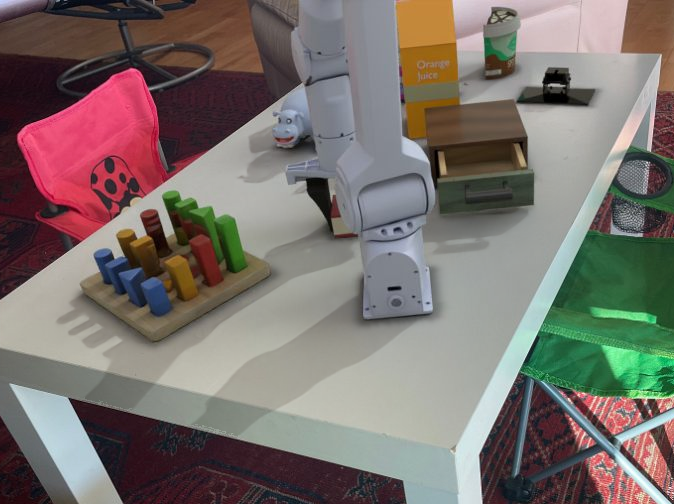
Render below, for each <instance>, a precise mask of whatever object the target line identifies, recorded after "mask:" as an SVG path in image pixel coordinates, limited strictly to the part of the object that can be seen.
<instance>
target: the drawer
mask: <svg viewBox="0 0 674 504" xmlns="http://www.w3.org/2000/svg"><path fill="white" fill-rule="evenodd" d="M437 156H438V169H439V176H440V178H439V179H437V185H438V188H437V194H438V208H439V215H448V214H449V215H450V214H460V213H468V212H479V211H489V210H497V209H498V210H499V209H508V208H509V209H510V208H518V207H529V206H534V205H535V171H534V168H529V169H528V170H527V165H526V162H525V160H524V157H523V154H522V151H521V148H520V145H519V142H511V143H501V144H491V145H481V146H472V147H462V148H452V149H442V150H437Z"/></svg>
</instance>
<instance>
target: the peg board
mask: <svg viewBox="0 0 674 504" xmlns="http://www.w3.org/2000/svg"><path fill="white" fill-rule="evenodd" d="M161 198H162V201H163V204H164V207H165V209H166V213H167V215H168V218H169V221H170V224H171V227H172V229H173V232H174V233H172V234H170V235H169V236H167V237H166V233H165V230H164V226H163V224H162V220H161V217H160V214H159V210H157V209H156V208H149V209H146V210H143V211H142V212H140V214H139V217H140V220H141V223H142V226H143V228H144V231H145V235H143V236H141V237H140V238H138V236H137V233H136V232H135V230H134V229H133V228H124V229H120V230H119V231H117V232H116V234H115V236H116V239H117V242H118V244H119V247H120V250H121V251H122V254H123V255H121V256H119V257H116V258H115V256H114V254H113V251H112V249H111V248H108V247H106V248H105V247H104V248H100V249H97V250H96V251H94V252H93V258H94V261H95V264H96V265H97V267H98V270H99V271H97V273H95V274H92V275H90V276H89V277H87V278H85V279H83V280H81V281H80V282H79V286H80V288H81V291H82V293H84V295H86V296H88V297H89V298H90V299H92V300H93V301H94V302H95V303H97V304H99V305H100V306H101V307H103V308H104V309H105V310H107V311H108V312H110V313H112V314H113V315H114V316H115V317H117V318H119V319H120V320H122V322H125V323H126V324H127V325H129V326H130V327H132V328H133V329H134V330H135V331H137V332H139V333H140V334H142V335H143V336H144V337H146V338H147V339H148V340H150V341H152V342H158V341H160V340H162V339H164V338H166V337H168V336H170V335H171V334H173V333H175V332H176V331H177V330H180V329H181V328H182V327H184V326H186V325H188V324H190V323H191V322H193V321H195V320H197V319H199V318H200V317H202V316H204V315H205V314H207V313H209V312H210V311H212V310H213V309H215V308H217V307H218V306H221V305H222V304H224V303H225V302H227V301H229V300H230V299H231V298H232V299H233V297H235V296H238V295H239V294H240V293H242V292H244V291H246V290H247V289H249V288H251V287H253V286H254V285H255V284H258V283H259V282H261V281H263V280H264V279H267V278H268V277H269V276H271V268H270V264H269V262H267V261H266V260H263V259H262V258H259V257H257V256H256V255H253V254H251V253H250V252H247V251H245V250H244V248H243V245H242V240H241V237H240V233H239V229H238V225H237V221H236V218H235V217H233V216H232V215H230V214H227V213H226V214H222V215H220V216H218V217H216V214H215V211H214V207H213V206H212V205H207V206H203V207H199V205H198V201H197V200H196V198H193V197H187V198H185V199H182V197H181V195H180V192H179V191H178V190H174V189H173V190H168V191H166V192H163V194H162V195H161Z"/></svg>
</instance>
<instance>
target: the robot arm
mask: <svg viewBox="0 0 674 504" xmlns="http://www.w3.org/2000/svg"><path fill="white" fill-rule="evenodd" d="M290 46H291V47H290V48H291V55H292V60H293V63H294V66H295V69H296V73H297V75H298V77H299V80H300V81H301V83H302V84H303V86H304V87H305V92H306V97H307V102H308V108H309V113H310V118H311V124H312V129H313V134H314V140H315V142H314V144H315V148H316V150H315V151H316V156H317V158H313V159H309V160H306V161H301V162H298V163H297V162H296V163H291V164H286V165H285V169H284V173H285V178H286V182H287V185H288V186H291V185H292V186H293V185H296V184H297V182H298V183H299V182H305V185H306V189H305V191H306V194H307V195H308V197H309V198H310V199H311V200H312V201H313V203H314V204H315V205H316V206H317V207H318V209H319V211H320V212H321V214H322V215H323V218H324V219H325V221H326V223H327V225H328V227H329V231H330V232H334V231H333V225H332V220H331V207H332V198H331V192H330V184H329V183H330V182H329V179H334V180H335V184H334V195H336V200H337V204H338V208H339V211H340V215H341V217H342V220H343V222H344V224H345V226H346V228H347V229H348V230H349V231H351V232H352V233H353V234H358V236H357V238H358V244H359V249H360V255H361V261H362V262H361V263H362V268H363V269H362V270H363V274H364V275H363V300H362V303H363V304H362V318H363V319H364V320H376V319H384V318H396V317H405V316H415V315H417V316H418V315H424V314H425V315H426V314H431V313H433V311H434V308H433V296H432V285H431V275H430V268H429V266H427V265H426V259H425V248H424V239H423V229H422V226H424V225H426V224H427V218H426V217H427V216H426V215H429V214H432V212H433V209H434V207H435V204H436V190H435V188H434V184H433V180H432V177H431V170H430V162H429V157H428V156H427V154H426V153H425V152H424V149H423V148H422V147H421V146H420V145H419V144H418V143H417V142H415V141H413V140H411V139H409V138H407V137H406V136H403V122H402V102H401V100H400V80H399V61H398V41H397V22H396V2H395V0H298V26H295V27H294V28H293V30H292V31H291V33H290ZM304 87H303V88H304ZM314 140H313V141H314Z"/></svg>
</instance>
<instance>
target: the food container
mask: <svg viewBox="0 0 674 504" xmlns="http://www.w3.org/2000/svg"><path fill="white" fill-rule="evenodd" d="M490 9H491V11H490V12H491V13H490V16H489V17H488V19H487V22H486V24H483V25H482V38H483V48H484V49H483V50H484V51H483V52H484V71H485V74H484V75H485V81H486V80H496V79H497V80H498V79H501V78H506V77H508V76H510V75H512V74H513V73H515V70H516V55H517V40H518V38H517V37H518V30H519V29H521V27H522V23H521V17H520V15H519V13H518V11H517V10H516V9H514V8H510V7H506V6H491V7H490Z"/></svg>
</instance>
